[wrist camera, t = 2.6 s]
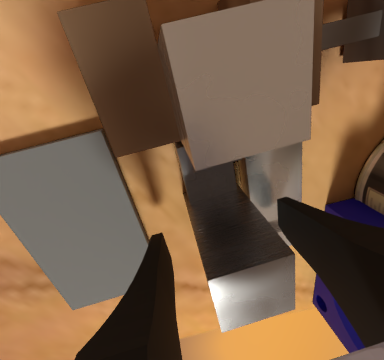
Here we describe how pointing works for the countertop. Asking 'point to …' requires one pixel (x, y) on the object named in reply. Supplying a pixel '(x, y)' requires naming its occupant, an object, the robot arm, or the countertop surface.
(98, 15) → the vise
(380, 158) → the coffee can
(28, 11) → the countertop surface
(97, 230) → the pad
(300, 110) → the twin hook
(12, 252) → the countertop surface
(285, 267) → the gray stepped bracket
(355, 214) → the blue cradle bracket
